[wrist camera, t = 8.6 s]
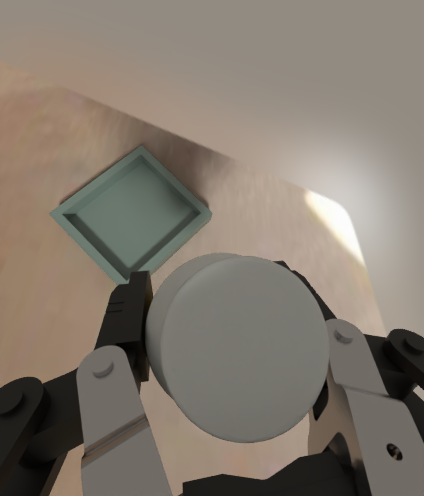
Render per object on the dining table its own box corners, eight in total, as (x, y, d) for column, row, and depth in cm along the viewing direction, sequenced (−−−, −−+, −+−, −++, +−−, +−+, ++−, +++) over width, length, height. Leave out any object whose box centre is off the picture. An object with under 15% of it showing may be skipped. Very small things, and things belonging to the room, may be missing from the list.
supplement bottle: (167, 372, 13) (137, 533, 4) (154, 281, 14) (108, 246, 5) (253, 351, 14) (389, 441, 5) (235, 267, 15) (320, 215, 6)
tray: (130, 294, 28) (125, 293, 25) (60, 220, 29) (48, 213, 26) (210, 219, 31) (212, 213, 29) (144, 156, 32) (141, 144, 30)
